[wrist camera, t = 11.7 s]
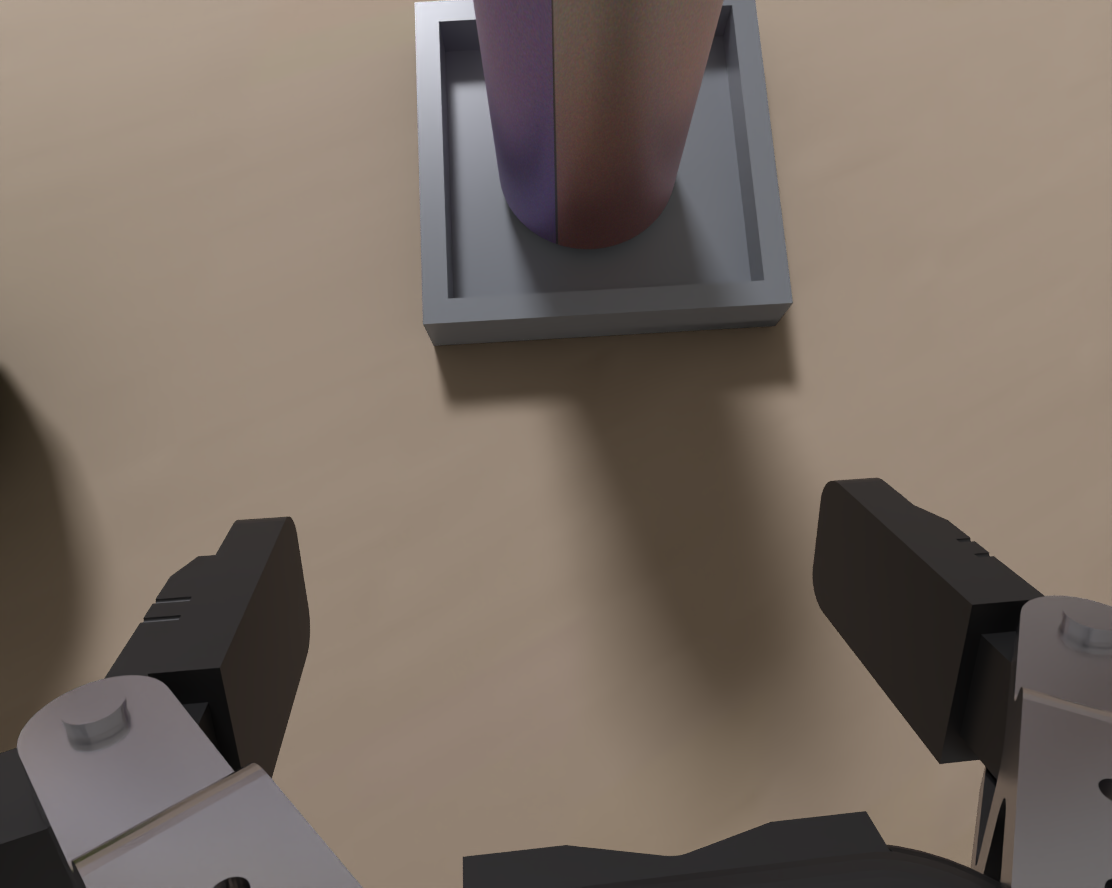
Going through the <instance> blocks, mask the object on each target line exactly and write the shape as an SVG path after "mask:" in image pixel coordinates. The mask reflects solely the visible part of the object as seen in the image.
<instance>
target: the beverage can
mask: <svg viewBox="0 0 1112 888" xmlns="http://www.w3.org/2000/svg"><path fill="white" fill-rule="evenodd" d="M723 1H724V0H473V4H474V10H475V17H476V24H477V31H478V37H479V44H480V51H481V58H482V64H483V71H484V78H485V85H486V91H487V98H488V105H489V112H490V118H491V125H492V132H493V139H494V145H495V152H496V159H497V166H498V172H499V179H500V184H501V188H502V191H503V194H504V197H505V199H506V201H507V203H508V205H509V207H510V208H511V210H512V211H513V213H514V214H515V215H516V217H517V218H518V219H519V220H520V221H521V222H522V223H523V224H524V225H525V226H526V227H527V228H528V229H530V230H531V231H532V232H534V233H535V234H537V235H538V236H540V237H542V238H543V239H546V240H548V241H550V242H552V243H555V244H558V245H561V246H565V247H569V248H576V249H599V248H605V247H610V246H614V245H617V244H620V243H623V242H625V241H627V240H629V239H632V238H633V237H635V236H637V235H638V234H640V233H641V232H643V231H644V230H645V229H647V228H648V227H649V226H650V225H651V224H652V223H653V222H654V221H655V220H656V219H657V218H658V217H659V215H660V214H661V213H662V211H663V210H664V208H665V206H666V205H667V203H668V201H669V199H670V196H671V194H672V191H673V187H674V184H675V180H676V176H677V172H678V169H679V165H680V161H681V157H682V154H683V150H684V146H685V143H686V139H687V135H688V131H689V128H690V124H691V120H692V116H693V113H694V109H695V105H696V101H697V98H698V94H699V90H700V87H701V83H702V79H703V75H704V72H705V68H706V64H707V60H708V57H709V53H710V49H711V45H712V42H713V38H714V34H715V31H716V27H717V23H718V19H719V16H720V12H721V8H722V4H723Z"/></svg>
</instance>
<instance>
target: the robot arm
mask: <svg viewBox="0 0 1112 888" xmlns="http://www.w3.org/2000/svg"><path fill="white" fill-rule="evenodd" d="M813 586H814V592H815V596H816V599H817V602H818V604H819V606H820V608H821V610H822V611H823V613H824V614H825V615H826V617H827V618H828V619H829V621H830V622H831V623H832V625H833V626H834V627H835V628H836V630H837V631H838V632H839V634H840V635H841V636H842V638H843V639H844V640H845V641H846V643H847V644H848V645H849V647H850V648H851V649H852V651H853V652H854V653H855V654H856V656H857V657H858V658H859V660H860V661H861V662H862V664H863V665H864V666H865V667H866V669H867V670H868V671H869V673H870V674H871V675H872V677H873V678H874V679H875V680H876V682H877V683H878V684H879V686H880V687H881V688H882V690H883V691H884V692H885V693H886V695H887V696H888V697H889V699H890V700H891V701H892V703H893V704H894V705H895V706H896V708H897V709H898V710H899V712H900V713H901V714H902V716H903V717H904V718H905V719H906V721H907V722H908V723H909V725H910V726H911V727H912V729H913V730H914V731H915V732H916V734H917V735H918V736H919V738H920V739H921V740H922V742H923V743H924V744H925V745H926V747H927V748H928V749H929V751H930V752H931V753H932V755H933V756H934V757H935V758H936V760H937V761H938V762H939V764H944V763H953V762H962V761H971V760H981V761H982V763H983V764H984V765H985V769H984V773H983V777H982V782H981V786H980V791H979V800H978V808H977V817H976V825H975V834H974V843H973V851H972V860H971V868H969V867H966V866H964V865H961V864H959V863H956V862H954V861H951V860H949V859H946V858H943V857H939V856H936V855H933V854H930V853H926V852H923V851H919V850H914V849H909V848H904V847H900V846H893V845H886V844H885V842H884V840H883V839H882V837H881V835H880V834H879V832H878V830H877V829H876V827H875V825H874V824H873V822H872V821H871V819H870V817H869V816H868V814H867V812H866V811H864V812H855V813H846V814H837V815H829V816H820V817H811V818H802V819H793V820H784V821H776V822H770V823H767V824H764V825H762V826H759V827H756V828H754V829H751V830H748V831H746V832H743V833H740V834H738V835H735V836H732V837H730V838H727V839H724V840H722V841H719V842H716V843H714V844H711V845H708V846H706V847H703V848H700V849H698V850H695V851H692V852H690V853H687V854H683V855H679V856H661V855H652V854H642V853H633V852H624V851H614V850H605V849H596V848H587V847H577V846H568V845H564V846H555V847H546V848H537V849H528V850H520V851H511V852H502V853H493V854H484V855H475V856H467V857H463V888H1112V607H1111V606H1108V605H1105V604H1102V603H1099V602H1095V601H1091V600H1088V599H1082V598H1077V597H1069V596H1044V595H1043V594H1041V593H1040V592H1039V591H1037V590H1036V589H1035V588H1034V587H1032V586H1031V585H1030V584H1029V583H1027V582H1026V581H1025V580H1023V579H1022V578H1021V577H1020V576H1018V575H1017V574H1016V573H1015V572H1013V571H1012V570H1011V569H1009V568H1008V567H1007V566H1006V565H1004V564H1003V563H1002V562H1000V561H999V560H998V559H997V558H995V557H994V556H991V557H990V556H989V552H988V551H986V550H985V549H984V548H983V547H981V546H980V545H979V544H977V543H976V542H975V541H974V542H971V541H970V537H969V536H967V535H966V534H965V533H963V532H962V531H961V530H960V529H958V528H957V527H956V526H954V525H953V524H952V523H951V522H949V521H948V520H946V519H944V518H942V517H939V516H937V515H935V514H933V513H930V512H928V511H926V510H924V509H921V508H919V507H917V506H914V505H913V504H912V503H911V502H909V501H908V500H907V499H906V498H904V497H903V496H902V495H901V494H899V493H898V492H897V491H896V490H894V489H893V488H892V487H891V486H890V485H888V484H887V483H886V482H885V481H883V480H882V479H880V478H867V479H852V480H837V481H830V482H828V483H827V484H826V485H825V487H824V489H823V492H822V496H821V503H820V512H819V520H818V529H817V538H816V546H815V555H814V564H813ZM309 639H310V617H309V608H308V602H307V595H306V589H305V582H304V576H303V570H302V563H301V557H300V551H299V544H298V538H297V532H296V528H295V524H294V522H293V520H292V518H291V517H277V518H262V519H247V520H237V521H235V522H234V524H233V526H232V527H231V529H230V531H229V533H228V534H227V536H226V538H225V539H224V541H223V543H222V545H221V546H220V548H219V550H218V552H217V553H216V555H211V556H198V557H197V558H195V559H194V560H193V561H191V562H190V563H188V564H187V565H186V566H184V567H183V568H182V569H180V570H179V571H177V572H176V573H175V574H173V575H172V576H171V577H170V578H169V579H168V581H167V583H166V584H165V586H164V587H163V589H162V590H161V592H160V593H159V595H158V596H157V598H156V604H152V606H151V607H150V609H149V610H148V612H147V613H146V615H145V617H144V622H143V623H140V624H139V626H138V627H137V629H136V630H135V632H134V633H133V635H132V637H131V638H130V640H129V641H128V643H127V644H126V646H125V647H124V649H123V650H122V652H121V654H120V655H119V657H118V658H117V660H116V661H115V663H114V664H113V666H112V667H111V669H110V671H109V672H108V674H107V675H106V677H105V678H104V679H101V680H98V681H95V682H91V683H88V684H86V685H83V686H80V687H78V688H75V689H73V690H71V691H69V692H67V693H65V694H63V695H61V696H60V697H58V698H56V699H54V700H53V701H51V702H50V703H49V704H47V705H46V706H44V707H43V708H42V709H41V710H39V711H38V712H37V713H36V714H35V715H34V716H33V717H32V718H31V719H30V720H29V721H28V722H27V723H26V725H25V726H24V728H23V729H22V731H21V733H20V735H19V738H18V742H17V748H15V749H12V750H9V751H6V752H3V753H0V888H363V887H362V886H361V885H360V884H359V883H358V881H357V880H356V879H355V878H354V877H353V875H352V874H351V873H350V872H349V871H348V870H347V868H346V867H345V866H344V865H343V864H342V862H341V861H340V860H339V859H338V858H337V856H336V855H335V854H334V853H333V852H332V850H331V849H330V848H329V847H328V846H327V844H326V843H325V842H324V841H323V840H322V838H321V837H320V836H319V835H318V834H317V833H316V831H315V830H314V829H313V828H312V827H311V825H310V824H309V823H308V822H307V821H306V819H305V818H304V817H303V816H302V815H301V813H300V812H299V811H298V810H297V809H296V807H295V806H294V805H293V804H292V803H291V801H290V800H289V799H288V798H287V797H286V796H285V794H284V793H283V792H282V791H281V790H280V788H279V787H278V786H277V785H276V784H275V782H274V781H273V780H272V776H273V772H274V769H275V765H276V762H277V758H278V755H279V751H280V748H281V744H282V741H283V737H284V734H285V730H286V727H287V723H288V720H289V716H290V713H291V709H292V706H293V702H294V699H295V695H296V692H297V688H298V685H299V681H300V678H301V674H302V671H303V667H304V664H305V661H306V657H307V653H308V648H309Z"/></svg>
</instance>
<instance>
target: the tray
mask: <svg viewBox="0 0 1112 888" xmlns="http://www.w3.org/2000/svg"><path fill="white" fill-rule="evenodd" d="M415 32H416V70H417V109H418V147H419V186H420V224H421V263H422V301H423V325H424V327H425V329H426V331H427V333H428V335H429V337H430V339H431V341H432V343H433V345H434V346H436V345H453V344H470V343H488V342H505V341H522V340H539V339H557V338H574V337H591V336H609V335H626V334H643V333H661V332H678V331H695V330H713V329H730V328H747V327H765V326H775V325H776V324H777V323H778V321H779V320H780V319H781V317H782V316H783V315H784V313H785V312H786V311H787V310H788V308H789V307H790V306H791V304H792V303H793V301H792V293H791V285H790V277H789V269H788V261H787V253H786V245H785V237H784V229H783V221H782V213H781V205H780V197H779V189H778V181H777V173H776V164H775V156H774V148H773V140H772V132H771V124H770V116H769V108H768V100H767V92H766V84H765V76H764V68H763V60H762V52H761V44H760V36H759V28H758V20H757V12H756V3H755V0H724V1H723V4H722V8H721V12H720V16H719V19H718V23H717V27H716V31H715V34H714V38H713V42H712V45H711V49H710V53H709V57H708V60H707V64H706V68H705V72H704V75H703V79H702V83H701V87H700V90H699V94H698V98H697V101H696V105H695V109H694V113H693V116H692V120H691V124H690V128H689V131H688V135H687V139H686V143H685V146H684V150H683V154H682V157H681V161H680V165H679V169H678V172H677V176H676V180H675V184H674V187H673V191H672V194H671V196H670V199H669V201H668V203H667V205H666V206H665V208H664V210H663V211H662V213H661V214H660V215H659V217H658V218H657V219H656V220H655V221H654V222H653V223H652V224H651V225H650V226H649V227H648V228H647V229H645V230H644V231H643V232H641V233H640V234H638V235H637V236H635V237H633V238H632V239H629V240H627V241H625V242H623V243H620V244H617V245H614V246H610V247H605V248H599V249H576V248H569V247H565V246H561V245H558V244H555V243H552V242H550V241H548V240H546V239H543V238H542V237H540V236H538V235H537V234H535V233H534V232H532V231H531V230H530V229H528V228H527V227H526V226H525V225H524V224H523V223H522V222H521V221H520V220H519V219H518V218H517V217H516V215H515V214H514V213H513V211H512V210H511V208H510V207H509V205H508V203H507V201H506V199H505V197H504V194H503V191H502V188H501V184H500V179H499V172H498V166H497V159H496V152H495V145H494V139H493V132H492V125H491V118H490V112H489V105H488V98H487V91H486V85H485V78H484V71H483V64H482V58H481V51H480V44H479V37H478V31H477V24H476V17H475V10H474V4H473V0H448V1H430V2H415Z"/></svg>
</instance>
